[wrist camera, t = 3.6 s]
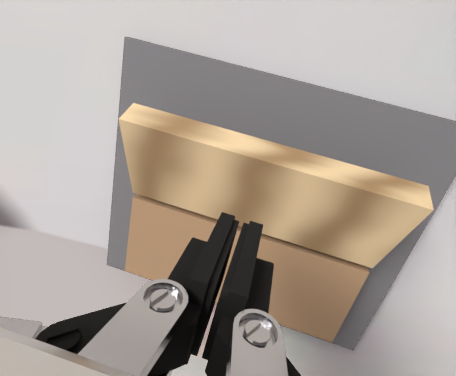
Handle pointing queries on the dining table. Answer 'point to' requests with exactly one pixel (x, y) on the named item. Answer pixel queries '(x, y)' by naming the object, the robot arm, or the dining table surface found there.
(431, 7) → the dining table surface
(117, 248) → the floor board
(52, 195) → the dining table surface
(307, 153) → the board
